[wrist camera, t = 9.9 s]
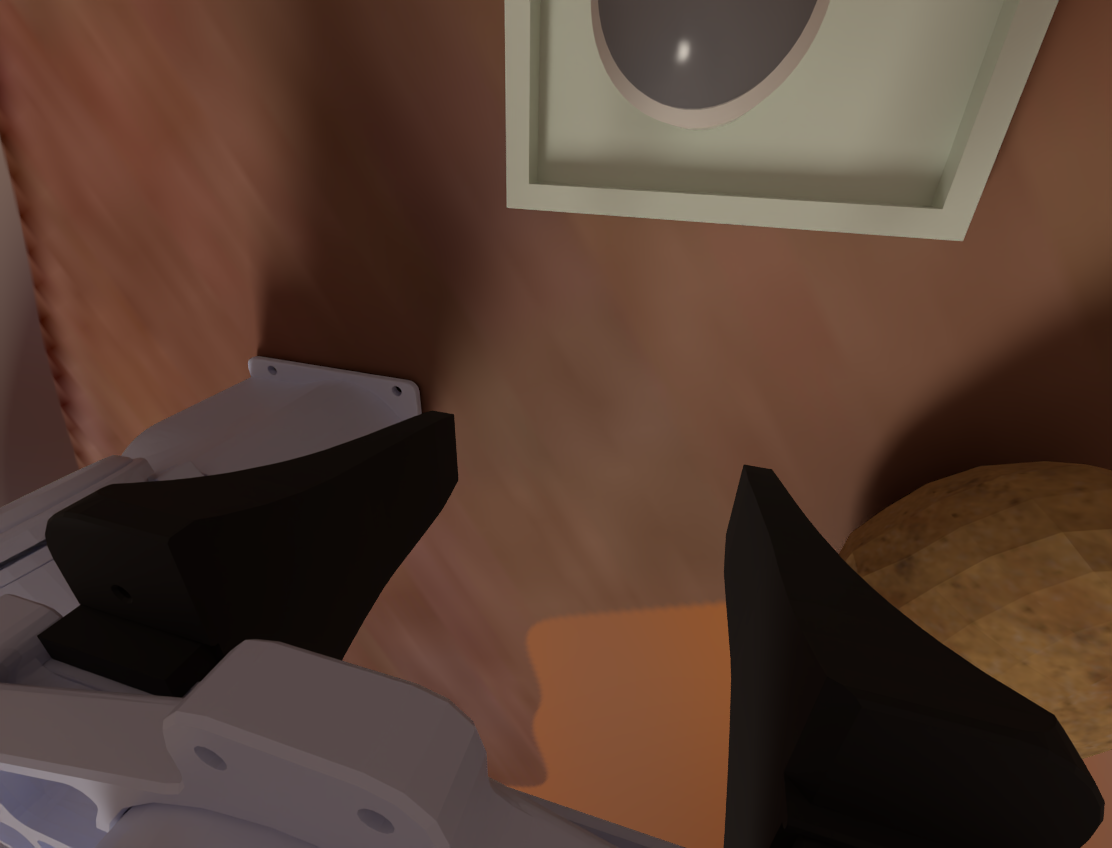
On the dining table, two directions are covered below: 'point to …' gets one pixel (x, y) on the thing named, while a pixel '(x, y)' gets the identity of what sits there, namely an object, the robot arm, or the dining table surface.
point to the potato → (1009, 580)
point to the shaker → (702, 53)
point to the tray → (781, 123)
